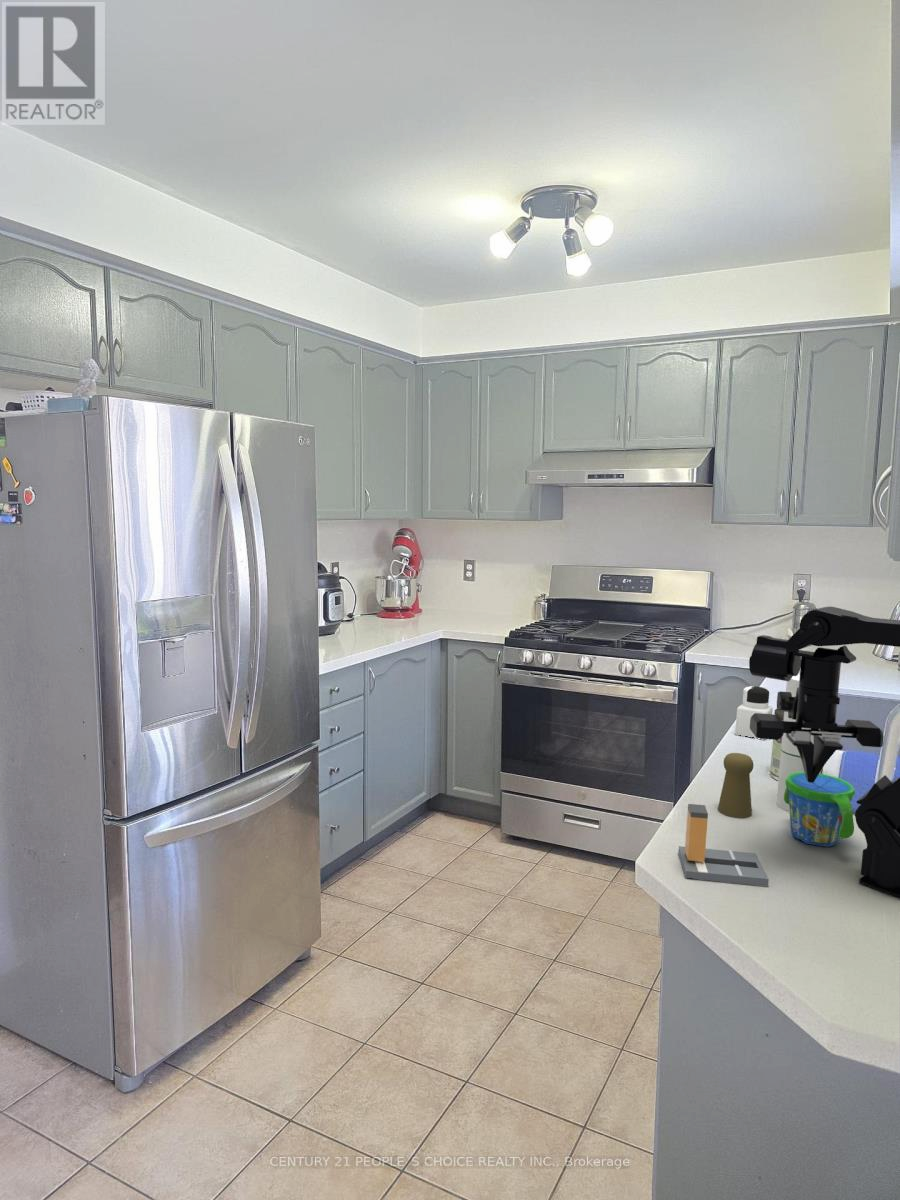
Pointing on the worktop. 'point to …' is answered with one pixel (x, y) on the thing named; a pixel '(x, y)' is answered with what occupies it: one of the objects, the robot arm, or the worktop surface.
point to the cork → (736, 786)
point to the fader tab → (696, 832)
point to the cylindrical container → (789, 752)
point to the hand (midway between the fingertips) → (810, 781)
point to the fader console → (725, 867)
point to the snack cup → (819, 808)
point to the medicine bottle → (751, 708)
